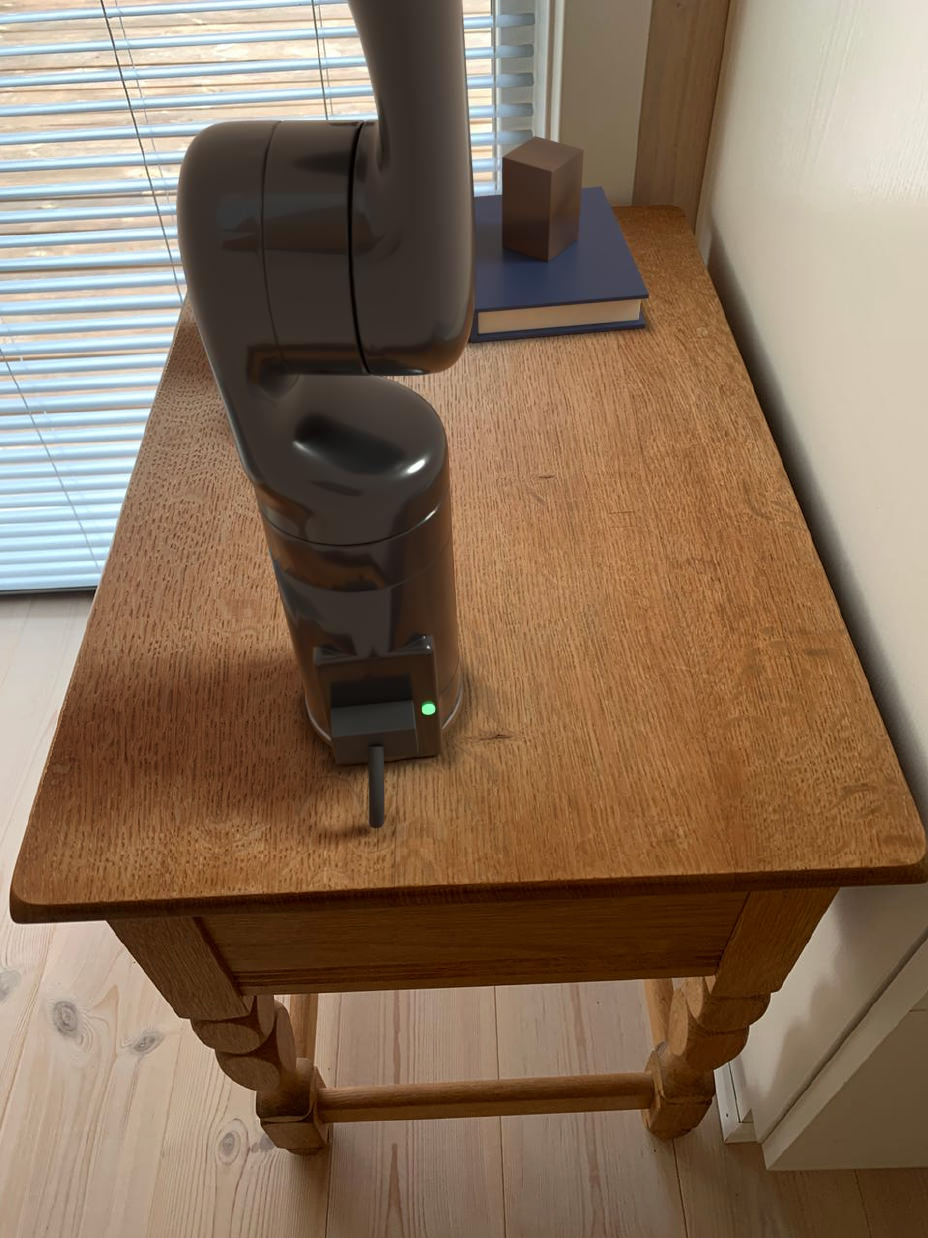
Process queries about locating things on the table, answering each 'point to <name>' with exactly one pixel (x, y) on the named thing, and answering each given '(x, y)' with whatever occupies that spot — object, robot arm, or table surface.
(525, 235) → the walnut block
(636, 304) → the book
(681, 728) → the table surface
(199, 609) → the table surface
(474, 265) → the robot arm
